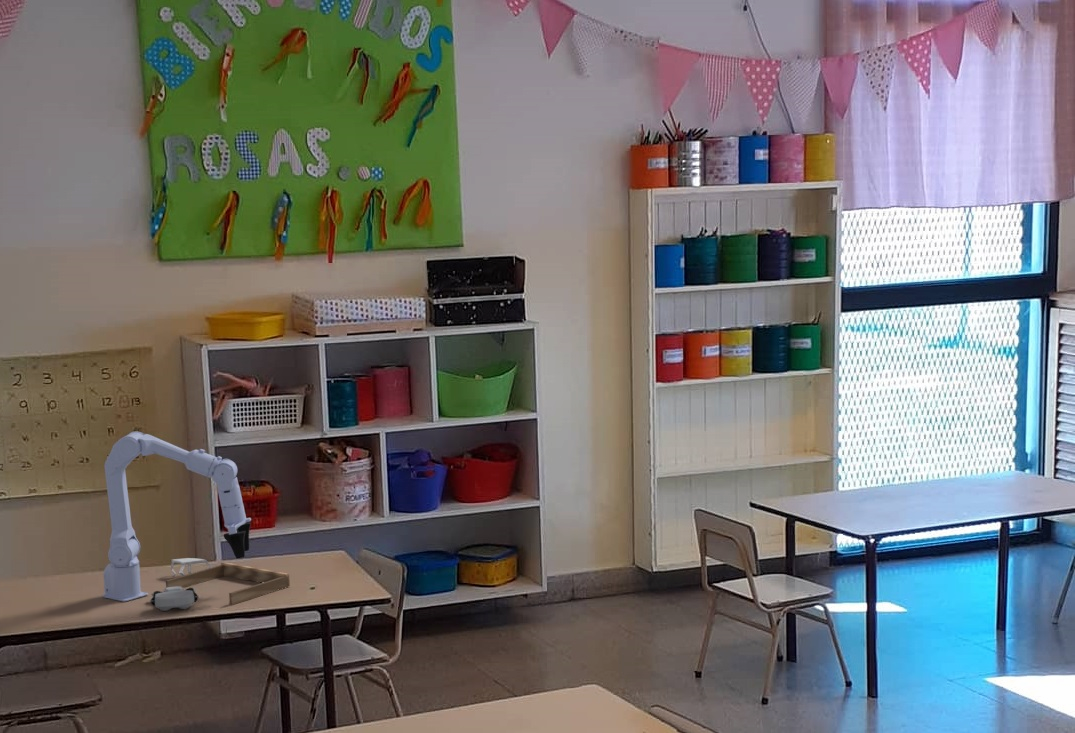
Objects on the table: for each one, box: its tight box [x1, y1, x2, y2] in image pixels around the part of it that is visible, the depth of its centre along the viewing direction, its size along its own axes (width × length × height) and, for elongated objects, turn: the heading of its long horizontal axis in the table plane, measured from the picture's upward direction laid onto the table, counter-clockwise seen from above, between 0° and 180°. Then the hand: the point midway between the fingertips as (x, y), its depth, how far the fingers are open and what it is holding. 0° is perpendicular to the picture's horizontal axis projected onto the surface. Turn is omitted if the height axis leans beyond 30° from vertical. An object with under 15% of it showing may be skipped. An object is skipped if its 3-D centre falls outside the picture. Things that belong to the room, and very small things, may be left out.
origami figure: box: [170, 557, 213, 577], centre depth 386 cm, size 12×8×5 cm
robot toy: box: [149, 586, 200, 612], centre depth 357 cm, size 12×4×15 cm
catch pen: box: [165, 561, 291, 606], centre depth 372 cm, size 26×20×4 cm
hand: (242, 554), depth 367 cm, fingers open, 7 cm apart
